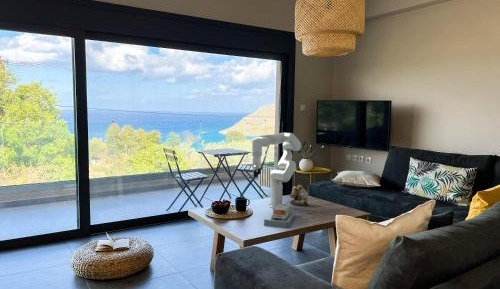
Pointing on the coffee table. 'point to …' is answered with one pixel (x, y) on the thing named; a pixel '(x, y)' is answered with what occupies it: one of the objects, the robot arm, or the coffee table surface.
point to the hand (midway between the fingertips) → (257, 175)
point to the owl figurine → (299, 196)
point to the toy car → (281, 212)
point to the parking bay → (280, 223)
